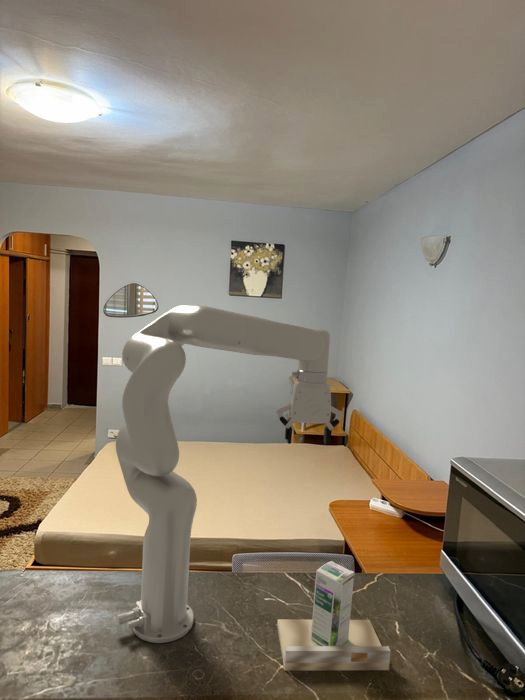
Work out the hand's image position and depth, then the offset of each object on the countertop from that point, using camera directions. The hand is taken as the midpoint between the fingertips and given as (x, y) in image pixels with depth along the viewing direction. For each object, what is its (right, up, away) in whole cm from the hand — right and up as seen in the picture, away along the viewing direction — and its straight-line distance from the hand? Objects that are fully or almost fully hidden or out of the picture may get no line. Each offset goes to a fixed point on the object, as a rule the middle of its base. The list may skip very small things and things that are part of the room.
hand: (307, 443), depth 117 cm
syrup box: (+2, -34, -26) cm, 43 cm away
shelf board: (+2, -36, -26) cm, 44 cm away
